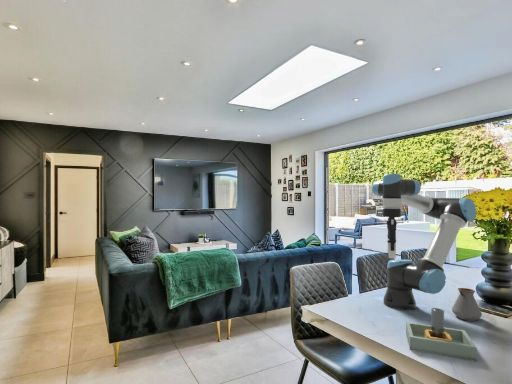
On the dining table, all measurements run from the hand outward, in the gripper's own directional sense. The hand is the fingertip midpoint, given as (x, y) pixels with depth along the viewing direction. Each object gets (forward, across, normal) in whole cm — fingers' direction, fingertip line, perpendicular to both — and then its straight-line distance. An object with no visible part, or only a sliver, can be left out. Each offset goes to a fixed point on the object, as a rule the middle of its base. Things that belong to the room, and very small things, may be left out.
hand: (391, 255), depth 138 cm
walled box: (+29, +20, +15) cm, 38 cm away
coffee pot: (+29, -14, +31) cm, 45 cm away
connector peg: (+28, +19, +15) cm, 37 cm away
